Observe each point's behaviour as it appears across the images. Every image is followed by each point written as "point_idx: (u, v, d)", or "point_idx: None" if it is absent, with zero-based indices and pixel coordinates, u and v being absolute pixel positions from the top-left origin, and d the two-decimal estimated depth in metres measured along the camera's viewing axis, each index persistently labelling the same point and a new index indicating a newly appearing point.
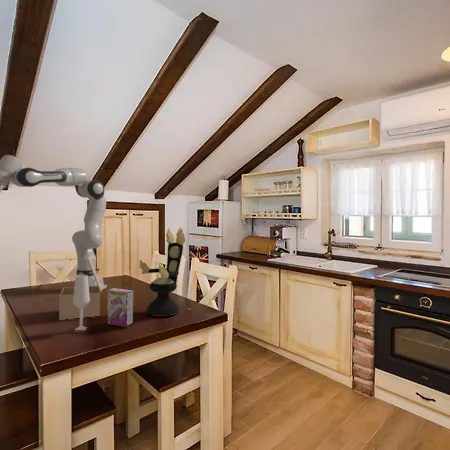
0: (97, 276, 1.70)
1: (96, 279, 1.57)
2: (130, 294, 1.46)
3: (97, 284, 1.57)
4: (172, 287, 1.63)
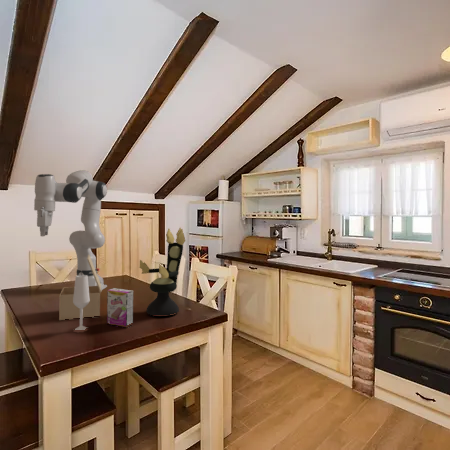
0: (97, 276, 1.70)
1: (96, 279, 1.57)
2: (130, 294, 1.46)
3: (97, 284, 1.57)
4: (172, 287, 1.63)
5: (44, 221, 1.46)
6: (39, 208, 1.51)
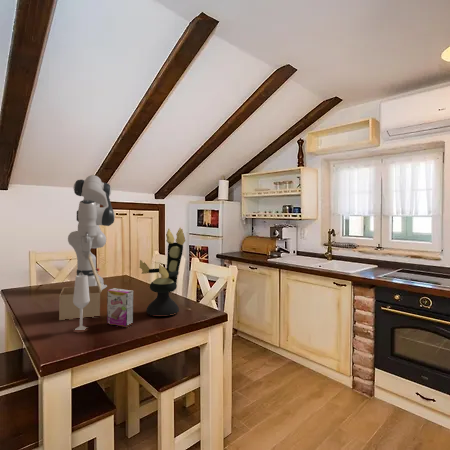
0: (97, 276, 1.70)
1: (96, 279, 1.58)
2: (130, 294, 1.46)
3: (97, 284, 1.57)
4: (172, 287, 1.63)
5: (89, 247, 1.53)
6: (83, 234, 1.58)
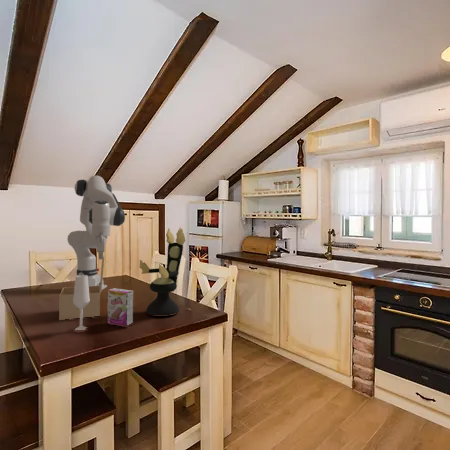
0: None
1: (102, 278, 1.59)
2: (130, 294, 1.46)
3: (101, 283, 1.58)
4: (172, 287, 1.63)
5: (103, 247, 1.56)
6: (97, 234, 1.60)
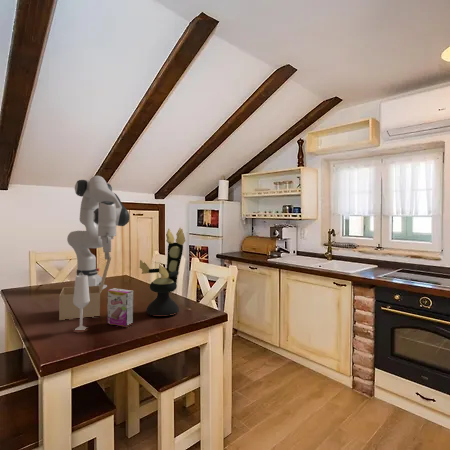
0: None
1: None
2: (130, 294, 1.46)
3: (103, 284, 1.58)
4: (172, 287, 1.63)
5: (109, 247, 1.57)
6: (103, 234, 1.61)
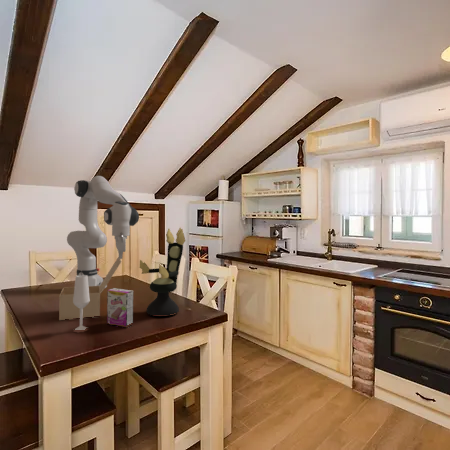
0: (106, 277, 1.72)
1: (108, 281, 1.60)
2: (130, 294, 1.46)
3: (105, 285, 1.59)
4: (172, 287, 1.63)
5: (124, 247, 1.59)
6: (117, 234, 1.64)
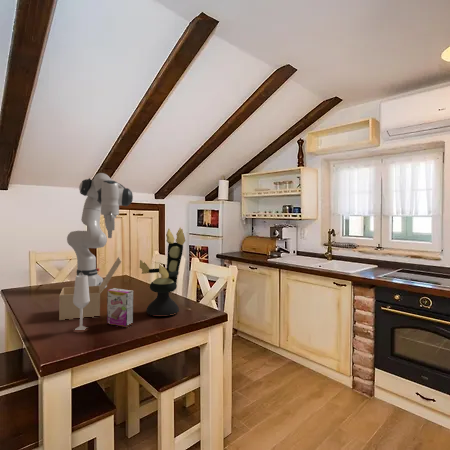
0: (106, 277, 1.72)
1: (108, 281, 1.60)
2: (130, 294, 1.46)
3: (105, 285, 1.59)
4: (172, 287, 1.63)
5: (113, 225, 1.59)
6: (106, 213, 1.63)
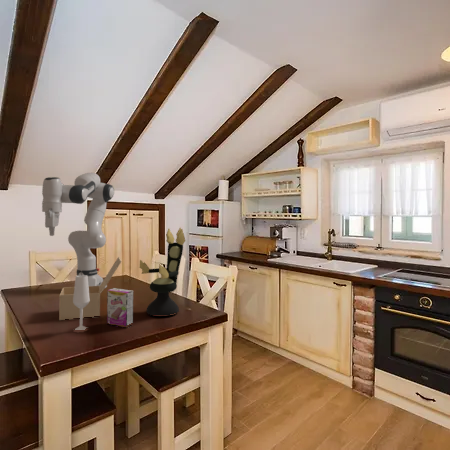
0: (106, 277, 1.72)
1: (108, 281, 1.60)
2: (130, 294, 1.46)
3: (105, 285, 1.59)
4: (172, 287, 1.63)
5: (52, 222, 1.55)
6: (47, 210, 1.59)
